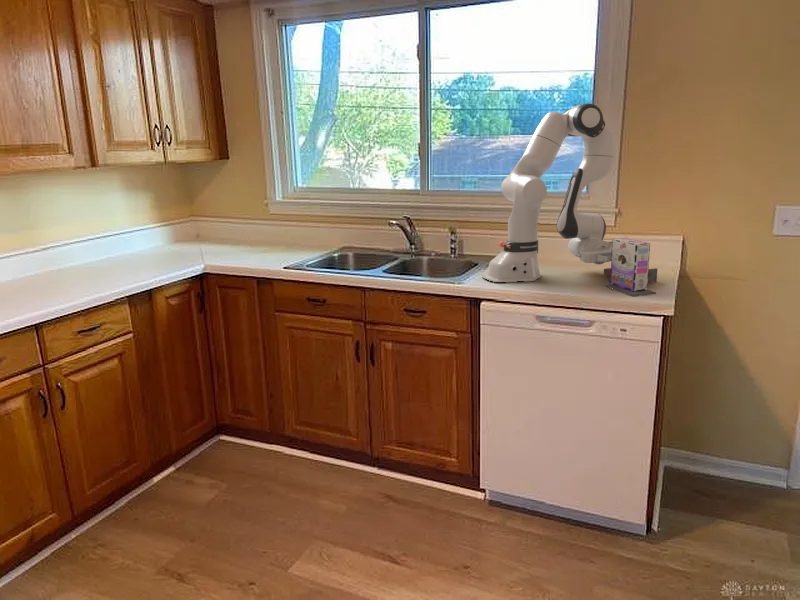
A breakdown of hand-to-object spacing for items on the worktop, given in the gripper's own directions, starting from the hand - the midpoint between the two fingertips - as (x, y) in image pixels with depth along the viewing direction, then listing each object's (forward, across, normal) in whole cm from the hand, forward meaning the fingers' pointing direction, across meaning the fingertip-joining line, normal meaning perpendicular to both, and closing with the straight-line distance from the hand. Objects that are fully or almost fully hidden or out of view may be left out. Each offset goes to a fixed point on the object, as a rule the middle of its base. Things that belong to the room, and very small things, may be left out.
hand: (619, 258), depth 220 cm
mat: (+6, 0, +10) cm, 12 cm away
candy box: (+5, +1, +10) cm, 11 cm away
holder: (-8, +10, +10) cm, 16 cm away
